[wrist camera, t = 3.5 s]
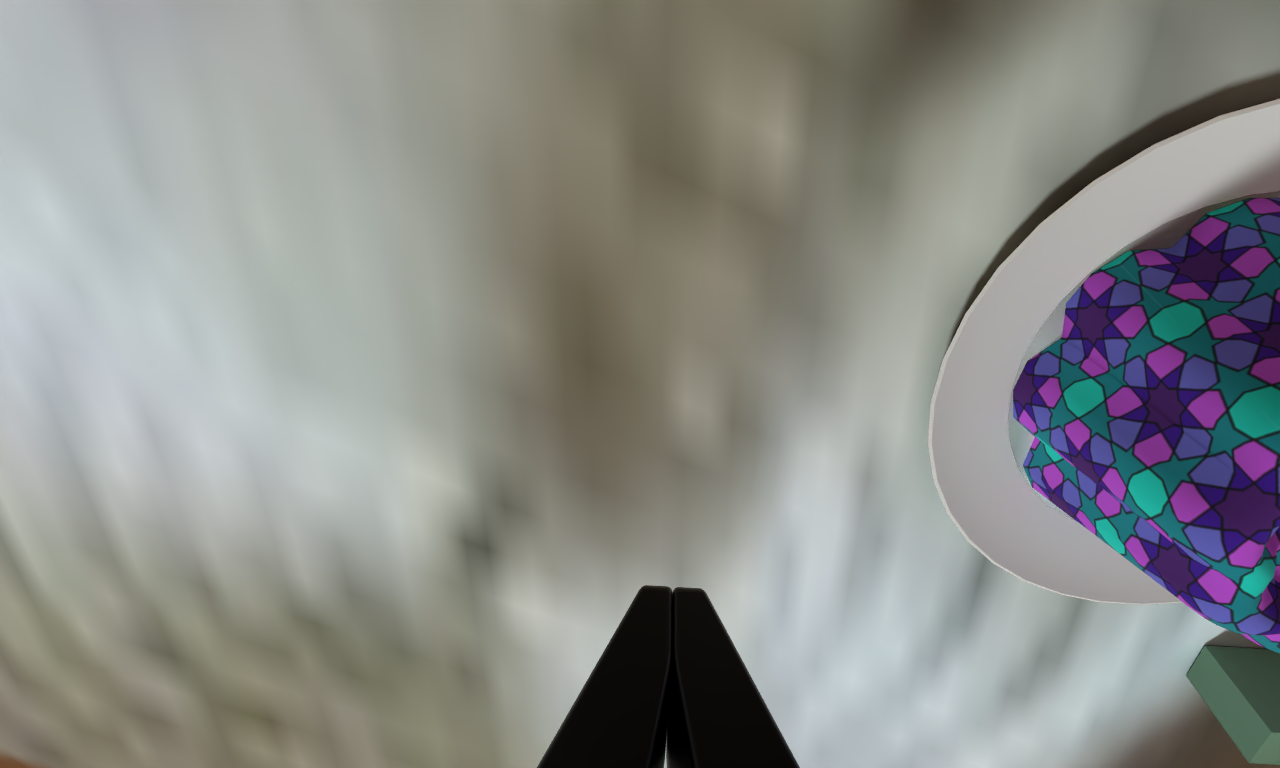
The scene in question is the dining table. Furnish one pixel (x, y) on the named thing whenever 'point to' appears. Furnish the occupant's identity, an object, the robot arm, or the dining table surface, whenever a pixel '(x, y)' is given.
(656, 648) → the robot arm
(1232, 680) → the frame
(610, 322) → the dining table surface
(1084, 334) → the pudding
